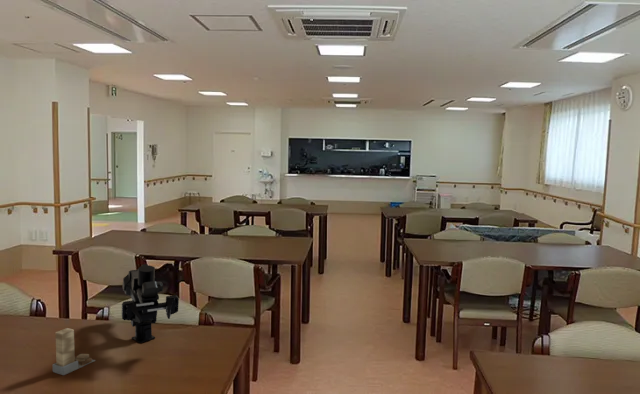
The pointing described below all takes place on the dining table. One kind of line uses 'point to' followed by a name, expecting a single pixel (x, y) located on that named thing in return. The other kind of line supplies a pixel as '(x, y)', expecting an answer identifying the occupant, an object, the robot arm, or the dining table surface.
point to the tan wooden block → (65, 347)
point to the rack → (67, 367)
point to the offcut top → (82, 357)
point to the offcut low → (84, 361)
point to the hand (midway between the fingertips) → (155, 319)
